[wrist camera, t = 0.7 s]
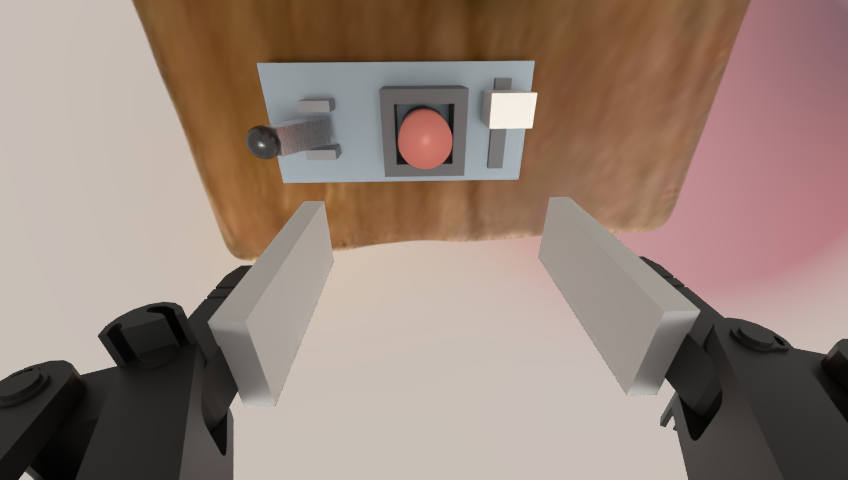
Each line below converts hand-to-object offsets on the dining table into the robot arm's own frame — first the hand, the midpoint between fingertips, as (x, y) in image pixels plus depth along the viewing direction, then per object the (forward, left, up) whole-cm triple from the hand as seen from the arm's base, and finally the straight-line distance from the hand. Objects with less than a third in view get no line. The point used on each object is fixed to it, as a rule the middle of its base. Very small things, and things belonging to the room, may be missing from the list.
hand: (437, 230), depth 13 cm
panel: (0, -2, -27) cm, 28 cm away
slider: (-2, +8, -23) cm, 25 cm away
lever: (0, -10, -23) cm, 25 cm away
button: (0, 0, -22) cm, 22 cm away
